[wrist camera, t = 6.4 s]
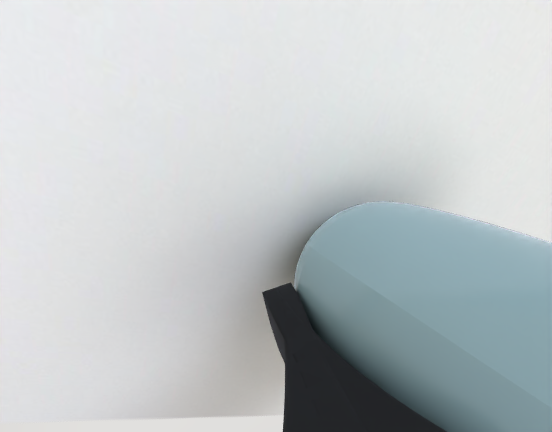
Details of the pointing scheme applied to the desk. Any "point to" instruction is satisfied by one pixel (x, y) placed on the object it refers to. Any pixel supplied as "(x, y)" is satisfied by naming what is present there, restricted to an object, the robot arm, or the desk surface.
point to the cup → (436, 312)
